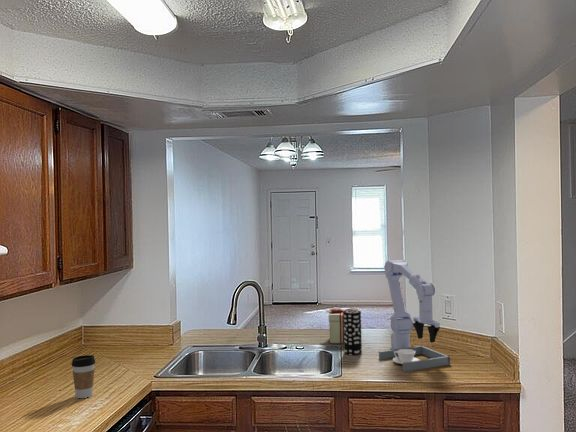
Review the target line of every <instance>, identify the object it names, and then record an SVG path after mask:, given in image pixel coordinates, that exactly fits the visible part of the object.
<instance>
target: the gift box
mask: <svg viewBox="0 0 576 432" xmlns="http://www.w3.org/2000/svg"><path fill="white" fill-rule="evenodd" d="M347 310H358V311H359V309H357V308H355V307H349V308H347V309H342V308H339V307H331V308H329V310H326V311H325V313H327V314H328V322H329V323H328V325H329V344H343V345H344V311H347Z"/></svg>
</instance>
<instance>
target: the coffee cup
mask: <svg viewBox="0 0 576 432" xmlns="http://www.w3.org/2000/svg"><path fill="white" fill-rule="evenodd" d="M71 360H72V361H71V367H72V378H73V385H74V391H75V393H74V394H75V398H76V399H77V398H86V399H88V398H87V397H89V398H91V397H92V396H93V394H94V393H93V392H94V382H95V381H94V379H95V364H96V358H95V355H91V354H87V355H79V356H78V355H77V356H75V357H73V358H72V359H71Z"/></svg>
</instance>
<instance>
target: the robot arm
mask: <svg viewBox="0 0 576 432" xmlns="http://www.w3.org/2000/svg"><path fill="white" fill-rule="evenodd" d="M383 268H384V273H385V274H384V275H385V278H386V279H387V283H388V287H389V293H390V298H391V301H392V308H393V311H394V312H393V313H392V315H391V316H390V329H391V331H392V332H391V334H390V347H389V350H393V349H401V348H408V347H411V335H410V334H411V333H412V330H413V328H414V329H415V332H416V335H417V339H420V340H421V339H423V337H424V329H425V328H424V327H425V325H427V327H426V328H427V330H428V333H429V342H430V343H436V338H437V335H438V333H439V331H440V328H441V326H440V321H439V322H438V321H436V320H434V319H433V316H434V315H433V296H434V295H435V293H436V288H435V286H434V284H433V283H432V282H427V281H426V280H424V278H422V277H421V275H420V274H417V273H414V272H413V271H412V270H411V268H410V267H409V265H408V262H407V261H406V260H405V259H397V260H396V259H395V260H386V261H385V263H384V265H383ZM403 276H404V277H405V278H406V279H408V283H409V284H410V285H411V287H412V288H413V289H415V291H416V295H417V299H418V303H419V305H418V306H419V310H418V311H419V312H418V313H419V315H418V316H419V317H418V316H414V317H413V318H412V316H411V314H410V313H409V312H407V311H406V310H405V305H404V304H405V303H404V299H403V295H402V289H401V285H400V278H402V277H403Z"/></svg>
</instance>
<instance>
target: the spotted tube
mask: <svg viewBox="0 0 576 432" xmlns="http://www.w3.org/2000/svg"><path fill="white" fill-rule="evenodd" d="M362 343H363V342H362V311H360V310H359V309H358V310H347V311H344V343H343V347H344V348H343V349H344V350H343V351H344V354H345V355H347V356H360V355H362V353H363V352H362V351H363V350H362V347H363V345H362Z"/></svg>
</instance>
